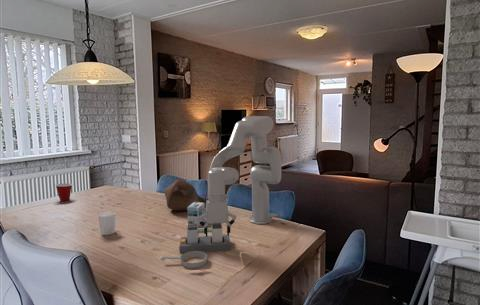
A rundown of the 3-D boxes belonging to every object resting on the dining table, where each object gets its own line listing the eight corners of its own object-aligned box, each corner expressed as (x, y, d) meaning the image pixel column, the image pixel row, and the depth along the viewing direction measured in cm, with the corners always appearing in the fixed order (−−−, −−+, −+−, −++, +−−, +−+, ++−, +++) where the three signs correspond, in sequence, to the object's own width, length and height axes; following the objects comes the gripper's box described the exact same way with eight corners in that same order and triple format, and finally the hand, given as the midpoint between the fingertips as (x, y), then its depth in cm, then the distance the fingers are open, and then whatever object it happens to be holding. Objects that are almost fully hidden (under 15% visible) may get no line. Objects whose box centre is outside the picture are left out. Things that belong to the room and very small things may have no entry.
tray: (216, 232, 159) (216, 227, 159) (217, 240, 149) (216, 235, 148) (194, 233, 158) (194, 228, 158) (193, 241, 147) (193, 236, 147)
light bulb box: (199, 227, 167) (198, 207, 166) (187, 226, 168) (186, 207, 167) (205, 220, 177) (204, 202, 176) (194, 219, 179) (193, 201, 177)
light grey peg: (198, 245, 141) (197, 223, 140) (197, 249, 137) (197, 227, 136) (188, 245, 141) (187, 224, 140) (187, 249, 136) (186, 228, 135)
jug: (158, 213, 190) (206, 222, 190) (160, 185, 184) (210, 193, 183) (168, 198, 209) (212, 206, 209) (170, 172, 203) (215, 179, 202)
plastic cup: (76, 200, 222) (75, 183, 221) (59, 203, 214) (58, 186, 213) (70, 197, 230) (69, 181, 228) (54, 200, 222) (52, 184, 220)
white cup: (119, 230, 163) (118, 212, 161) (108, 236, 155) (107, 217, 154) (107, 229, 165) (106, 211, 164) (96, 234, 158) (94, 215, 156)
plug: (222, 243, 143) (221, 222, 141) (222, 248, 138) (222, 226, 137) (212, 244, 142) (211, 223, 141) (212, 248, 138) (211, 226, 136)
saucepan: (206, 271, 120) (206, 261, 120) (159, 272, 119) (159, 263, 119) (208, 258, 131) (208, 249, 130) (165, 259, 130) (165, 250, 130)
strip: (229, 243, 146) (228, 233, 145) (230, 252, 136) (230, 242, 135) (181, 245, 143) (181, 236, 143) (179, 255, 134) (179, 245, 133)
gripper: (235, 194, 142) (235, 230, 144) (197, 196, 140) (198, 232, 142) (236, 199, 135) (237, 237, 137) (196, 200, 133) (197, 239, 135)
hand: (217, 234), depth 139 cm, fingers open, 9 cm apart
